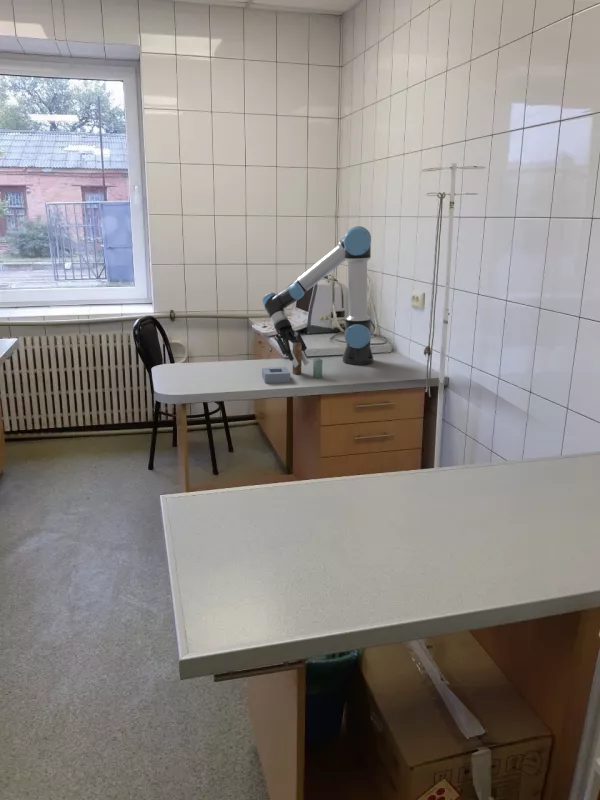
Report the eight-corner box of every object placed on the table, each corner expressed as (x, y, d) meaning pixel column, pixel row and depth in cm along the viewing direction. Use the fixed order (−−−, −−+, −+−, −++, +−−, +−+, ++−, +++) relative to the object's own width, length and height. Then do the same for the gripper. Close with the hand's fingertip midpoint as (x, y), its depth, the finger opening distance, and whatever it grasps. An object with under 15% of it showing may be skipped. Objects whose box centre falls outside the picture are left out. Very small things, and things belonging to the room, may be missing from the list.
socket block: (286, 375, 280) (286, 366, 279) (290, 382, 270) (290, 373, 269) (262, 376, 278) (262, 367, 277) (265, 383, 268) (265, 374, 267)
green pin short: (321, 375, 280) (321, 358, 278) (322, 378, 277) (323, 360, 274) (312, 376, 280) (312, 358, 277) (314, 378, 276) (314, 361, 273)
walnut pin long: (300, 371, 286) (300, 342, 282) (302, 374, 283) (302, 344, 278) (291, 372, 286) (292, 342, 281) (293, 374, 282) (293, 344, 278)
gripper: (293, 325, 295) (314, 366, 288) (262, 330, 285) (282, 372, 278) (300, 316, 290) (321, 357, 282) (268, 320, 280) (288, 363, 272)
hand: (301, 364), depth 280 cm, fingers open, 5 cm apart
